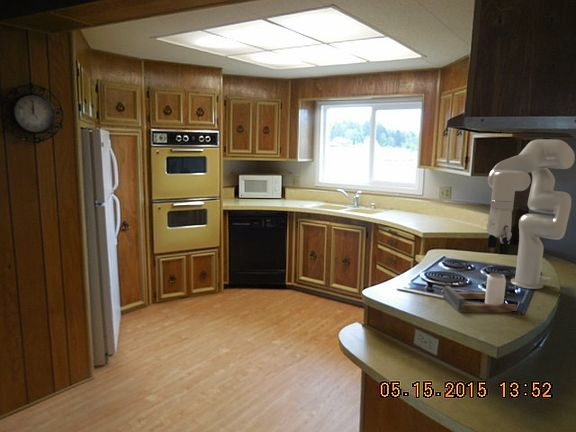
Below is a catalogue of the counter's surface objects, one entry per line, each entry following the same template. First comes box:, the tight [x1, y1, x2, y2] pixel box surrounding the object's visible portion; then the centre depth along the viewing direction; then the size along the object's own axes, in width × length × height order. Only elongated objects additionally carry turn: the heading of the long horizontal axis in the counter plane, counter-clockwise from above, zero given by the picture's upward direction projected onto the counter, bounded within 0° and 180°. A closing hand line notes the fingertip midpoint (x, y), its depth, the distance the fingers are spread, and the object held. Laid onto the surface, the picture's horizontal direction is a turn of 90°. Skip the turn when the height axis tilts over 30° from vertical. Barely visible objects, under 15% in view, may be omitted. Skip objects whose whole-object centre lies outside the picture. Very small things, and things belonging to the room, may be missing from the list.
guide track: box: [442, 285, 518, 313], centre depth 166 cm, size 22×14×5 cm, turn 92°
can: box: [484, 272, 507, 304], centre depth 165 cm, size 6×6×12 cm
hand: (497, 250), depth 162 cm, fingers open, 9 cm apart
